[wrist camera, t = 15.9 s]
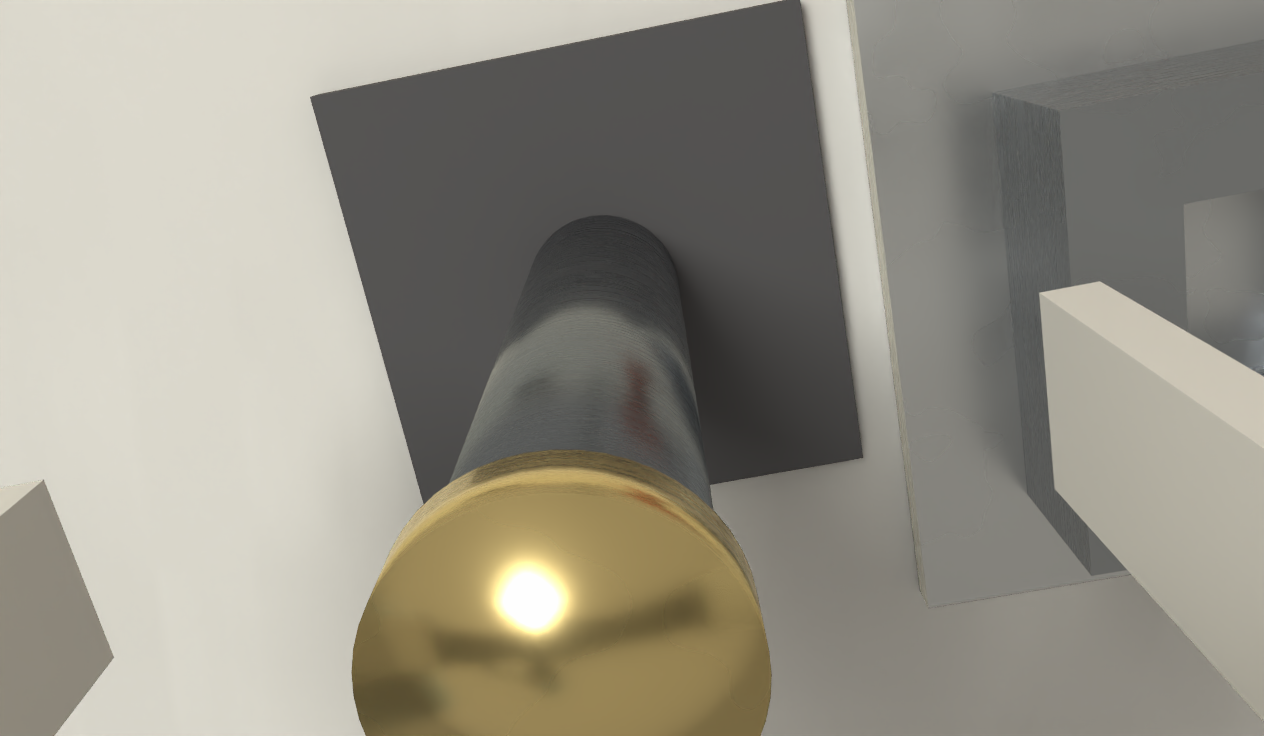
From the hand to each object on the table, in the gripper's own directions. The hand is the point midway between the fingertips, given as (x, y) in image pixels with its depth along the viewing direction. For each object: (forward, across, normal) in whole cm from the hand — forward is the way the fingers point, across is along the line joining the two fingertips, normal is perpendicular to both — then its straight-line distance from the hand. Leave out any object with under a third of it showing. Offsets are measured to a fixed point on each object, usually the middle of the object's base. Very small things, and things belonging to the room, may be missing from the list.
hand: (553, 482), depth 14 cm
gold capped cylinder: (+10, +1, 0) cm, 10 cm away
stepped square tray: (+10, +14, -2) cm, 17 cm away
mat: (+10, 0, 0) cm, 10 cm away
